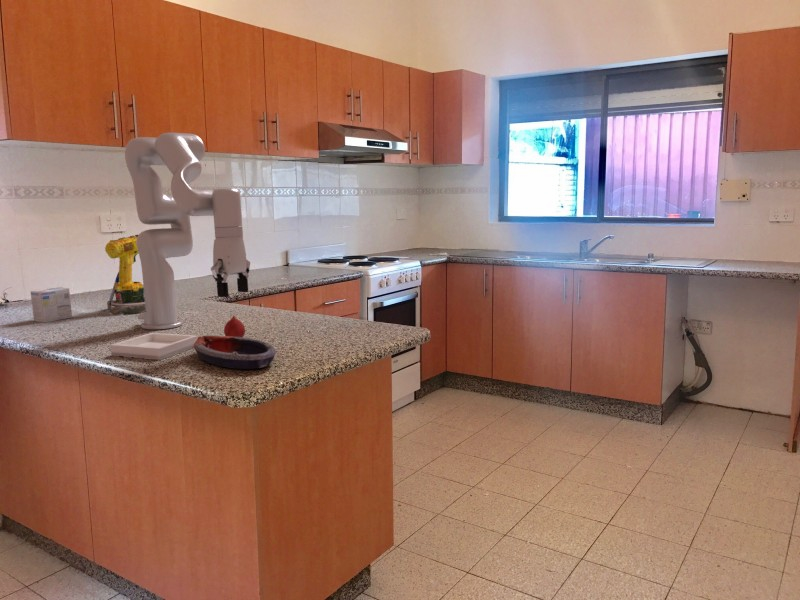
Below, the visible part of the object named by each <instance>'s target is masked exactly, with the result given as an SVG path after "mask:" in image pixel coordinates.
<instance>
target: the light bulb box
mask: <svg viewBox="0 0 800 600" xmlns="http://www.w3.org/2000/svg"><path fill="white" fill-rule="evenodd" d="M70 292H71V291H70V288H69V287H59V286H58V287H52V288H45V289H39V290H38V289H36V290H30V298H31V299H30V301H31V305H32V306H31V308H32V316H33V321H34V322H36V323H43V324H44V323H49V322H54V321H59V320H65V319H71V318H73V311H72V303H71V293H70Z"/></svg>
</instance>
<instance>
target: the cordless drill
mask: <svg viewBox="0 0 800 600" xmlns="http://www.w3.org/2000/svg"><path fill="white" fill-rule="evenodd" d="M138 235H139V234H135V235H129V236H128V237H125V236H123V237H120V238H119V237H118V239H114V240H113V239H110V240H109V241H108V243H107V244H106V245H105V247H104V249H105V250H104V251H105V252H106V254H107V256H108V257H109V258H110V259H112V260H113V259H119V261H118V262H119V264H118V265H119V266H118V272H117V275H116V277H115V280H114V283H113V287H112V288H111V289H112V290H111V292H110V296H109V300H107V301H106V302H107V304H106V305H107V310H108V311H109V313H110V314H111V315H117V314H122V315H137V314H140V313H143V312H146V311H145V299H144V286H143V283H142V282H140V281H133V267H132V266H133V264H134V263H136V262H137V261H136V257H137V255H139V253H138V249H137V244H136V240H137V237H138ZM114 298H115V299H114Z"/></svg>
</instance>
